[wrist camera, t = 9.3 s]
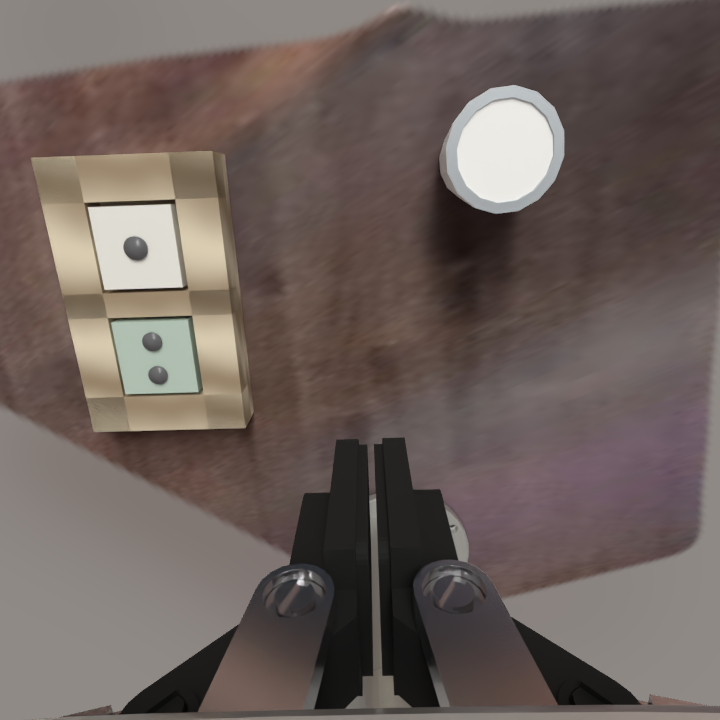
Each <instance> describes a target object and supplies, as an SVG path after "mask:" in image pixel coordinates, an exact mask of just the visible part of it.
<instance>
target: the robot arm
mask: <svg viewBox="0 0 720 720" xmlns="http://www.w3.org/2000/svg"><path fill="white" fill-rule="evenodd" d="M382 443H383V444H374V455H375V484H376V494H373V495H370V496H369V478H368V454H367V445H359V441H358V439H345V440H336V447H335V456H334V464H333V473H332V481H331V490H330V493H305V494H304V497H303V501H302V506H301V511H300V516H299V521H298V525H297V530H296V535H295V540H294V545H293V550H292V555H291V559H290V564H289V565H287V566H283V567H280V568H278V569H276V570H274V571H272V572H271V573H270V574H268V575H267V576H266V577H265V578H263V579H262V581H261V582H260V584H259V585H258V586H257V588H256V589H255V592H254V594H253V596H252V598H251V600H250V602H249V604H248V606H247V609H246V611H245V613H244V615H243V617H242V619H241V621H240V624H239V625H237V626H236V627H234V628H233V629H231V630H230V631H229V632H227V633H226V634H224V635H223V636H221V637H220V638H218V639H217V640H215V641H214V642H212V643H211V644H210V645H208V646H207V647H205V648H204V649H202V650H201V651H200V652H198V653H197V654H195V655H194V656H192V657H191V658H189V659H188V660H187V661H185V662H184V663H182V664H181V665H179V666H178V667H177V668H175V669H173V670H172V671H171V672H169V673H168V674H166V675H165V676H163V677H162V678H160V679H159V680H157V681H156V682H154V683H153V684H152V685H150V686H149V687H147V688H146V689H144V690H143V691H142V692H140V693H139V694H138V695H137V696H136V697H135V698H133V699H132V700H131V701H130V702H129V703H128V704H127V705H126V706H125V708H124V709H123V710H122V711H118V712H113V711H112V708H111V705H109V706H105V707H100V708H97V709H92V710H88V711H84V712H79V713H75V714H71V715H67V716H63V717H58V718H45V719H34V720H720V706H707V705H702V704H697V703H692V702H687V701H681V700H676V699H671V698H666V697H661V696H655V695H650V697H649V701H648V702H644V701H639V700H637V699H636V698H635V697H634V696H633V695H632V694H631V692H629V691H628V690H627V689H625V688H624V687H623V686H621V685H620V684H619V683H617V682H616V681H615V680H613V679H611V678H610V677H608V676H606V675H605V674H603V673H601V672H600V671H598V670H597V669H595V668H593V667H592V666H590V665H588V664H587V663H585V662H584V661H582V660H580V659H579V658H577V657H576V656H574V655H572V654H571V653H569V652H567V651H566V650H564V649H563V648H561V647H559V646H558V645H556V644H554V643H553V642H551V641H550V640H548V639H546V638H545V637H543V636H541V635H540V634H538V633H536V632H535V631H533V630H532V629H530V628H528V627H527V626H525V625H524V624H522V623H520V622H519V621H517V620H515V619H514V618H512V617H511V616H510V614H509V612H508V610H507V608H506V607H505V605H504V603H503V601H502V599H501V597H500V595H499V593H498V592H497V590H496V588H495V586H494V584H493V582H492V581H491V580H490V578H489V577H488V576H487V574H486V573H484V572H483V571H482V570H480V569H479V568H478V567H476V566H474V565H471V564H469V563H468V557H469V545H468V540H467V536H466V532H465V530H464V527H463V525H462V523H461V521H460V519H459V518H458V517H457V515H456V514H455V513H454V511H452V510H451V509H450V508H449V507H448V506H447V505H446V504H444V502H443V498H442V494H441V491H440V490H439V489H435V490H413V488H412V481H411V475H410V469H409V463H408V457H407V451H406V444H405V439H404V438H382ZM32 720H33V719H32Z"/></svg>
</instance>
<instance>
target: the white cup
mask: <svg viewBox="0 0 720 720" xmlns="http://www.w3.org/2000/svg"><path fill="white" fill-rule="evenodd" d="M563 158H564V129H563V127H562V124H561V122H560V120H559V117H558V115H557V112H556V110H555V108H554V107H553V106H552V105H551V104H550V103H549V102H548V101H547V100H546V99H545V98H543V97H542V96H541V95H540V94H539V93H538V92H536V91H533V90H530V89H526V88H523V87H520V86H517V85H511V86H505V87H498V88H491V89H489V90H488V91H486V92H484V93H483V94H481V95H479V96H478V97H476V98H475V99H473V100H471V101H470V102H469V103H468V104H467V105H466V106H465V108H464V109H463V110H462V112H461V113H460V114H459V116H458V117H457V118H456V120H455V121H454V122H453V124H452V126H451V128H450V130H449V132H448V134H447V136H446V138H445V140H444V143H443V146H442V150H441V153H440V156H439V162H440V174H441V176H442V178H443V180H444V182H445V184H446V186H447V188H448V189H449V190H450V191H451V192H453V193H454V194H455V195H456V196H457V197H458V198H460V199H461V200H463V201H465V202H466V203H468V204H469V205H471V206H472V207H474V208H477V209H480V210H484V211H487V212H491V213H494V214H499V213H507V212H514V211H519V210H521V209H523V208H524V207H526V206H528V205H530V204H531V203H533V202H535V201H537V200H538V199H540V198H541V196H542V195H543V194H544V193H545V192H546V190H547V189H548V188H549V187H550V186H551V184H552V183H553V182H554V181H555V179H556V177H557V174H558V171H559V169H560V166H561V163H562V160H563Z"/></svg>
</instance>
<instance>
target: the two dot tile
mask: <svg viewBox="0 0 720 720" xmlns="http://www.w3.org/2000/svg"><path fill="white" fill-rule="evenodd" d="M111 325H112V330H113V335H114V340H115V345H116V350H117V355H118V360H119V365H120V370H121V374H122V379H123V384H124V389H125V394H152V393H188V392H199V391H200V390H201V389H202V388H203V386H202V379H201V372H200V366H199V359H198V352H197V345H196V338H195V332H194V325H193V318H192V316H162V317H130V318H120V319H118V320H116V321H114V322H112V323H111Z"/></svg>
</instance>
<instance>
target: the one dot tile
mask: <svg viewBox="0 0 720 720" xmlns="http://www.w3.org/2000/svg"><path fill="white" fill-rule="evenodd" d="M88 211H89V216H90V221H91V226H92V231H93V236H94V241H95V246H96V251H97V255H98V260H99V265H100V270H101V275H102V280H103V285H104V290H116V289H146V288H177V287H184V286H186V285H188V284H187V277H186V270H185V263H184V257H183V250H182V243H181V236H180V229H179V222H178V216H177V209H176V204H161V205H133V206H106V207H88Z"/></svg>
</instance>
